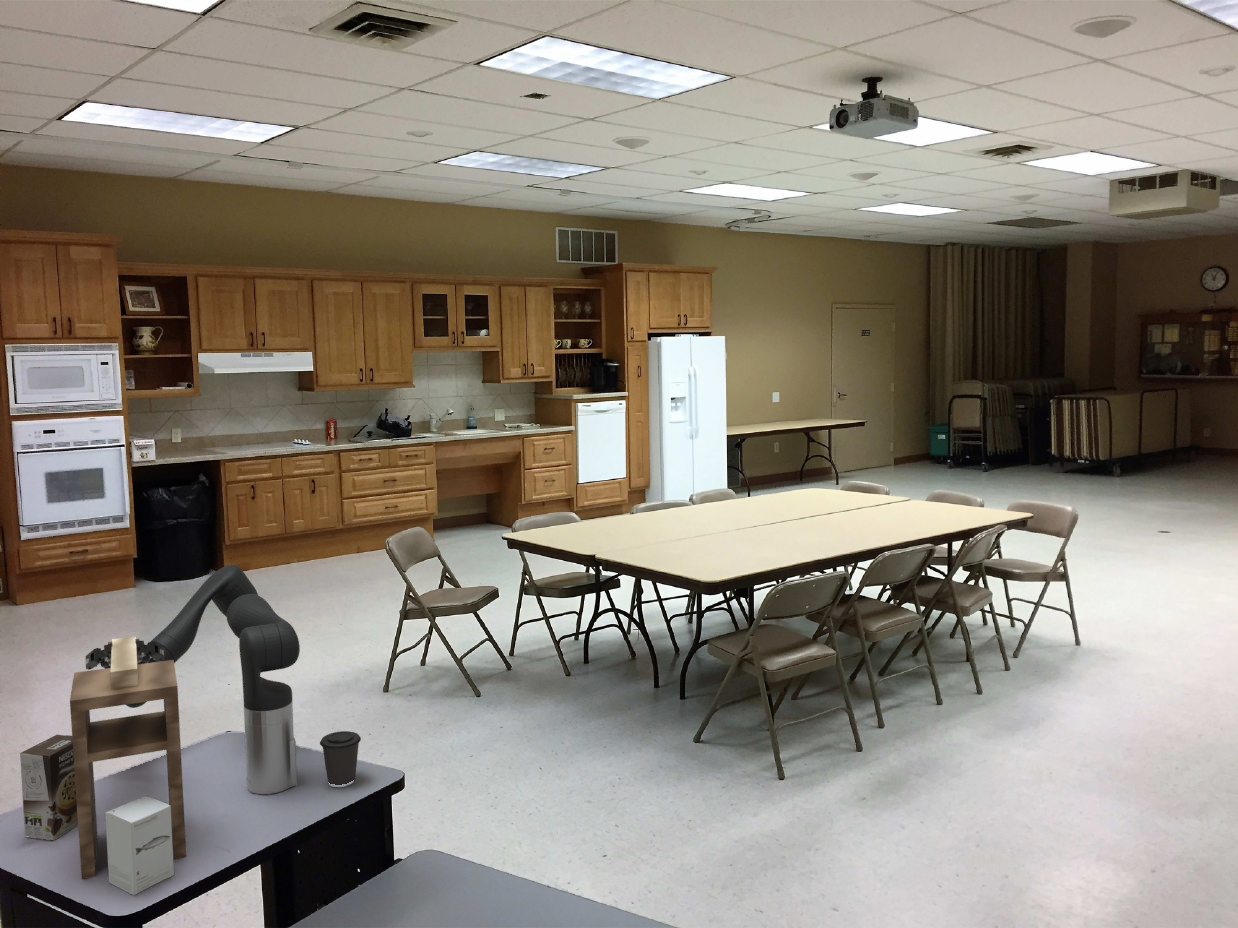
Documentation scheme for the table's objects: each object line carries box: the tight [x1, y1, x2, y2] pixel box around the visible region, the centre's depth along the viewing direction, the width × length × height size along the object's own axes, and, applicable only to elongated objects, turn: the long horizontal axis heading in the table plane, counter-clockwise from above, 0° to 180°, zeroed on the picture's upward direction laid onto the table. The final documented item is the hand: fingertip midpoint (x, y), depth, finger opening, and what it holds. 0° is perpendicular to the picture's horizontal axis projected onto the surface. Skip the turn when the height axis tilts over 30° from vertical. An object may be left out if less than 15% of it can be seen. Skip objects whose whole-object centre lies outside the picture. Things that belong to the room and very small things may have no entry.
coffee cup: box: [319, 730, 362, 785], centre depth 197 cm, size 8×8×10 cm
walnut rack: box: [69, 660, 187, 880], centre depth 169 cm, size 16×15×31 cm
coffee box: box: [19, 734, 78, 841], centre depth 177 cm, size 9×6×16 cm
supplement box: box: [104, 795, 175, 896], centre depth 160 cm, size 7×7×13 cm
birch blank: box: [111, 636, 138, 689], centre depth 172 cm, size 4×20×3 cm, turn 27°
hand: (123, 645), depth 177 cm, fingers closed on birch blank, 4 cm apart
